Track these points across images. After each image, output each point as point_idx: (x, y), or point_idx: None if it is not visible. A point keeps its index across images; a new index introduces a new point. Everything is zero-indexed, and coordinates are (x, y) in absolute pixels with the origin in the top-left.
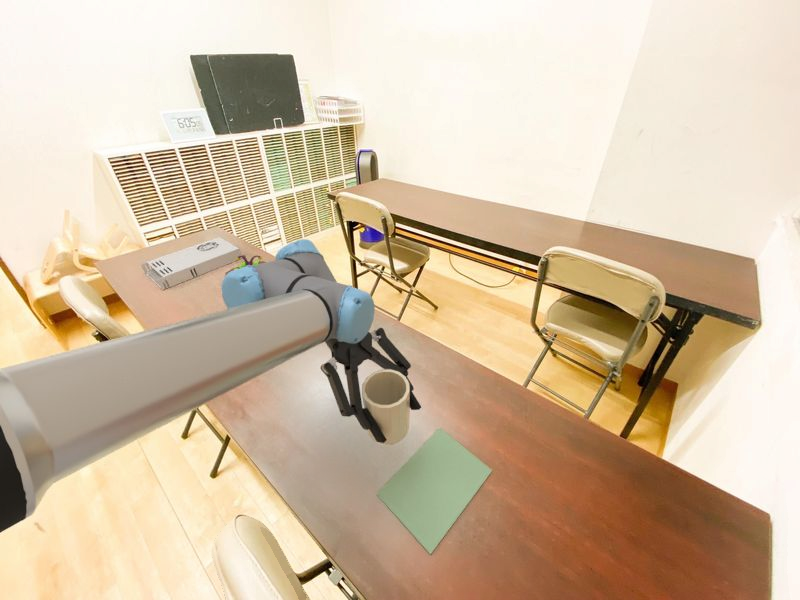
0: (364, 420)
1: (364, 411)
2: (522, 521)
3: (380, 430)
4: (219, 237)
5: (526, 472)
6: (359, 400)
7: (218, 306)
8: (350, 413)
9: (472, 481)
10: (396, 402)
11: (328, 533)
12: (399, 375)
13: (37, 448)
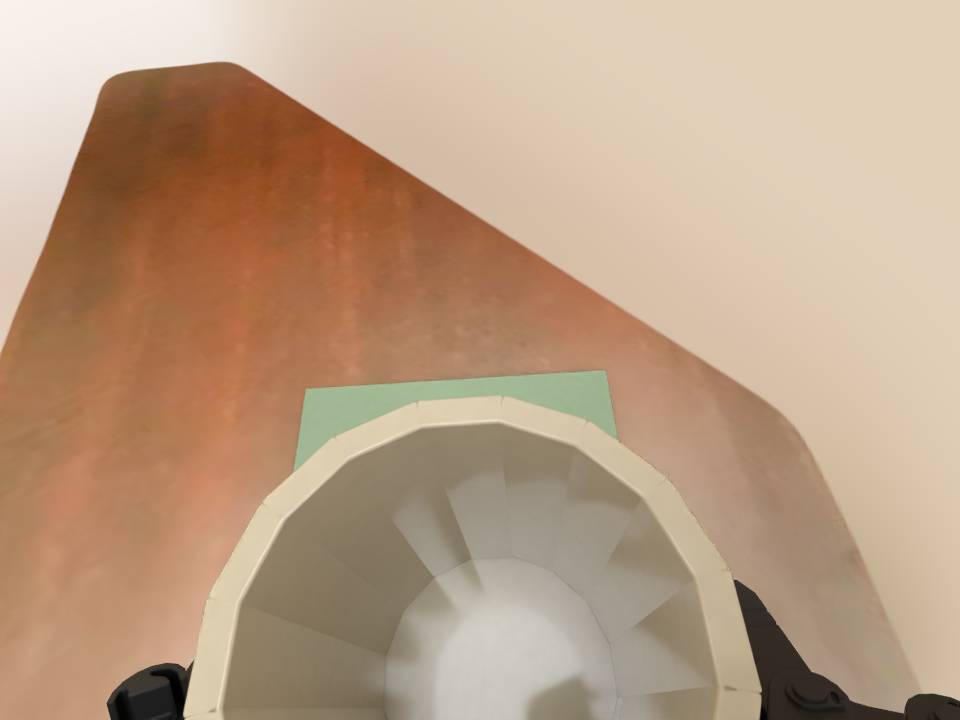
0: (753, 631)
1: (754, 656)
2: (376, 284)
3: None
4: None
5: (253, 332)
6: None
7: None
8: (939, 709)
9: (374, 407)
10: (511, 419)
11: (859, 622)
12: (228, 663)
13: None
